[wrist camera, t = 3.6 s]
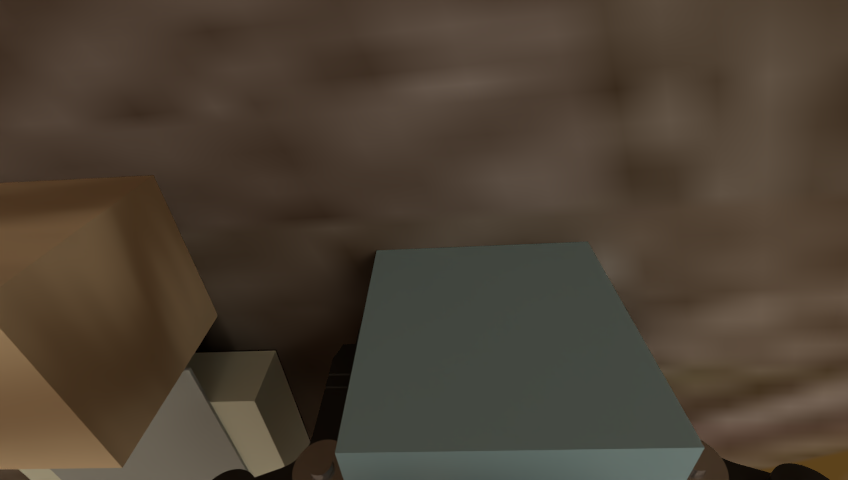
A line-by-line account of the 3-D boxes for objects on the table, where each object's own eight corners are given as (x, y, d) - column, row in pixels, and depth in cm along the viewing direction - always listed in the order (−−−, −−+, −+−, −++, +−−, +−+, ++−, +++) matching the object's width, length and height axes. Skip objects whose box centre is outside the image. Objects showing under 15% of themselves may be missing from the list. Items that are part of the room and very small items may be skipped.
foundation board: (-27, 325, 14) (-93, 377, 12) (262, 316, 13) (237, 369, 12) (139, 505, 21) (111, 554, 19) (333, 503, 20) (324, 554, 18)
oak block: (-24, 183, 11) (-305, 313, 7) (155, 174, 11) (-23, 302, 7) (74, 318, 14) (-83, 470, 10) (219, 314, 14) (122, 468, 9)
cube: (376, 249, 12) (334, 453, 7) (587, 241, 12) (704, 447, 7) (397, 383, 15) (379, 586, 10) (562, 379, 15) (626, 587, 10)
